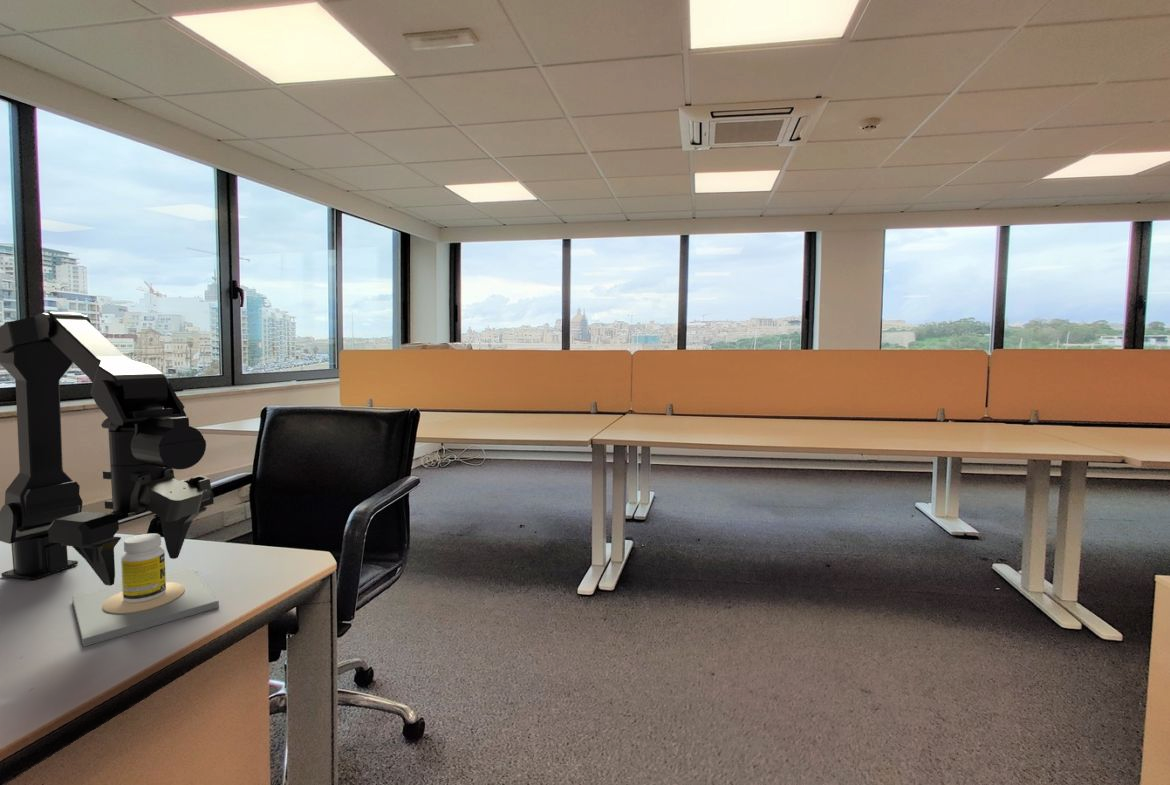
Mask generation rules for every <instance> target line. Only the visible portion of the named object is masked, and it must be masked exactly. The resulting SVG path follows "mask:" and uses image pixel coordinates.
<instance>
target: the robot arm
mask: <svg viewBox="0 0 1170 785" xmlns="http://www.w3.org/2000/svg"><path fill="white" fill-rule="evenodd" d="M73 364H74V365H75V366H76V367H77V368H79V370H80V371H81V372H82V373H83V374H84V375H85V376H86V377H87V378H88V379H89V380H90V381H91V383H92V386H91V390H90V396H91V398H92V399H93V400H94V403H95V404H96V406H97V407H98V408H99V409H100V410H101V411H102V413H103V414H104V415H105V416H106V418H105V419H104V420H103V422H102V423H101V424H100V426H101V428H103V429H107V430H108V431H107V432H108V446H109V468H110V469H109V470H103V471H102V479H103V480H111V481H110V482H111V498H112V499H108V500H104V509H107V510H112V511H110V512H95V511H83V510H82V509H83V498H82V497H81V495H80V488H81V487H80V484H79V483H78V482H77V481H73V480H72V479H71V478H70V477H69V475H68V474H67V473H66V472H65V471H64V467H63V445H62V444H63V442H62V419H61V418H62V417H61V413H62V412H61V391H60V388H61V386H60V380H61V379H62V378H63V376H64V375H65V374H66V373H67V371H68V370H69V369H70V368H71V366H72V365H73ZM0 365H1V366H2V367H3V369H5V371H7V373H9V375H10V376H11V377H12V378H13V379H14V381H15V383H14V384H15V397H16V398H15V399H16V401H15V403H16V422H17V423H16V424H17V443H18V462H19V463H18V464H19V472H18V474H17V475H16V477H15V478H14V479H13V481H12V482H11V483H10V484H9V486H8V487H7V488H6V490H5V492H4V494H5V496H4V504H3V505H2V507H1V508H0V542H3V543H5V544H10V546H11V552H12V553H11V555H12V556H11V558H12V569H10V570H6V571H3V572H1V573H0V574H1V577H3V578H4V577H5V578H13V579H22V580H29V581H30V580H31V581H33V580H37V579H39V578H43V577H45V576H49V575H51V574H53V573H56V572H60V571H62V570H65V569H68V568H70V567H74V566H76V565H79V561H78V560H72V559H69V557H68V547H71V548H72V549H74V550H75V551H76V552H77V553H78V554H79V555H80V556H81V557H82V558H83V559H84V560H85V561H86V563H87V564H88V566H90V567H91V569H92V570H93V571H94V573H95V574H96V576H97V577H98V578H99V579H100V581H101V582H102V583H103V584H104V585H105V586H108V587H112V586H114V584H115V578H116V568H115V567H116V566H115V565H116V564H115V546H116V545H117V544H118V543H119V542H120V540H121V539H122V538H121V536H115V535H116V533H118V531H119V530H120V527H119V526H120V525H123V524H125V523H130V522H131V521H135V520H138V519H141V518H144V517H148V516H150V515H151V516H152V515H157V516H158V517H159V520H160V526H161V529H162V534H163V537H164V538H163V539H164V544H165V547H166V551H167V554H168V557H169V558H170V559H172V560H175V559H178V558H179V556H180V553H181V550H182V547H183V545H184V542H185V539H186V536H187V534H188V531H189V529H190V526H191V524H192V522H193V521H194V520H195V519H196V518H197V517H198V516H200V515H201V514H202V513H204V512H206V511H207V506H211V505H214V503H215V502H214V491H213V490H212V486H211V478H210V477H207V476H205V475H204V474H201V475H197V476H193V477H190V478H189V480H188V479H186V478H185V479H182V480H181V479H180V480H178V479H176V478H175V474H174V473H175V470H185V469H186V470H187V469H189V468H192V467H193V466H195V465H197V464H198V463H199V462H200V461H201V460H202V458H203V457H204V455H205V452H206V450H207V440H206V439H205V438H204V435H203V434H202V433H201V431H200V430H199V429H197V428H196V427H193V426H190V419H189V416H188V417H187V414H186V411H185V405H184V404H183V402H182V401H181V400H180V398H179V397H178V395H177V394H176V392H175V389H174V387H173V386H172V384H171V382H170V380H168V378H167V377H166V375H165V374H164V373H163V372H161V371H159V370H158V369H156V368H155V367H153V366H151V365H150V364H146V363H143V362H139V361H136V360H132V359H130V358H128V357H127V356H126V355H125V354H124V353H122V351H120V350H119V349H118V348H117V347H116V346H115V345H114V344H113V343H112V342H111V341H109V340H108V339H107V338H106V337H105V336H104V335H103V334H102V333H101V332H99V330H97V328H96V327H94V326H93V325H92V321H91V320H90V318H89V317H88V315H86V314H82V313H80V312H67V311H65V312H64V311H63V312H62V311H46V312H42V313H38V314H37V315H35V316H32V317H27V318H26V317H25V318H21V319H16V320H11V321H5V322H4V323H3V324H2V325H1V326H0Z"/></svg>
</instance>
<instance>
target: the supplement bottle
mask: <svg viewBox="0 0 1170 785" xmlns="http://www.w3.org/2000/svg"><path fill="white" fill-rule="evenodd" d="M161 538H162V536H161V535H160V534H159V533H141V534H139V535H134V536H131V537H128V538H126V539H124V541H123V550H124V552H125V553H123V554H122V556H121V558H120V564H121V565H120V566H121V568H120V569H121V582H122V583H121V584H122V588H123V600H124V601H126V602H129V603H139V602H144V601H148V600H152V599H155V598H157V597H159V596H161V595H163V594H164V593H165V591H166V577H165V574H166V562H165V560H166V559H165V557H166V556H165V555H166V554H165V553H166V552H165V549H164V548H163V547H161V545H162V539H161Z"/></svg>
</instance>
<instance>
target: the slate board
mask: <svg viewBox="0 0 1170 785" xmlns="http://www.w3.org/2000/svg"><path fill="white" fill-rule="evenodd" d="M165 577H166V591H165V593H164V594H163V595H161V596H159V597H157V598H155V599H152V600H148V601H144V602H139V603H129V602H126V601H124V600H123V588H122V583H121V584H115V585H111V586H108V587H105V588H99V589H95V590H92V591H91V590H90V591H87V592H83V593H78V594H74V595H72V604H73V609H74V614H75V618H76V622H77V626H78V630H79V634H80V638H81V642H82V647H83V648H84V647H86V646H90V645H94V644H97V643H101V642H104V641H105V642H106V641H109V640H112V639H114V638H115V639H116V638H119V637H121V636H125V635H129V634H132V633H135V632H139V631H142V630H143V631H144V630H145V629H150V628H152V627H156V626H160V625H163V624H166V623H170V622H173V621H177V620H181V619H184V618H187V617H188V618H189V617H190V616H194V615H197V614H201V613H204V612H208V611H211V610H216V609H218V608H220V602H219V601H220V600H219V599H218V598H217V597H216V595H215V594H214V593H213V592H212V591H211V589H210V588H209V587H208V585H207V584H206V583H205V581H204V580H203V579H202V577H200V575H199V574H198V573H197V571H196V570H195V569H194V568H193V567H188V568H183V569H180V570H175V571H172V572H168V573H165Z"/></svg>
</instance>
